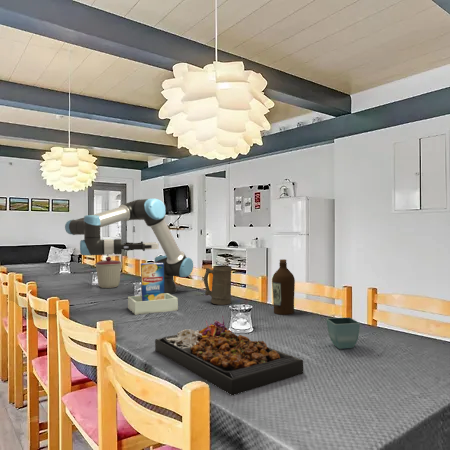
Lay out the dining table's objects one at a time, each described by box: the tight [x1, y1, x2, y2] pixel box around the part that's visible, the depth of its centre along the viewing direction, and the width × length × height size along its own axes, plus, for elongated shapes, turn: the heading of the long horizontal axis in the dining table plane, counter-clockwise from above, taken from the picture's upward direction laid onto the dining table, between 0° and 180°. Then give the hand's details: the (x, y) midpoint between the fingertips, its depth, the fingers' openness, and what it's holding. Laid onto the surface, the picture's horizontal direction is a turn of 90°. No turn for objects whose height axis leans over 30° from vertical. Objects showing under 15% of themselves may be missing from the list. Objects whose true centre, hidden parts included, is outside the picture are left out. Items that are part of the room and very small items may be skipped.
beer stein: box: [203, 264, 233, 306], centre depth 218 cm, size 15×11×20 cm
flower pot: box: [326, 317, 361, 350], centre depth 139 cm, size 9×9×9 cm
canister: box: [94, 256, 123, 289], centre depth 281 cm, size 18×18×21 cm
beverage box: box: [140, 262, 164, 301], centre depth 205 cm, size 7×11×22 cm, turn 105°
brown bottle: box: [271, 258, 296, 316], centre depth 192 cm, size 11×11×25 cm
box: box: [127, 293, 179, 316], centre depth 205 cm, size 21×17×6 cm
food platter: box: [154, 315, 304, 396], centre depth 127 cm, size 45×25×10 cm, turn 34°
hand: (157, 245), depth 206 cm, fingers open, 13 cm apart
